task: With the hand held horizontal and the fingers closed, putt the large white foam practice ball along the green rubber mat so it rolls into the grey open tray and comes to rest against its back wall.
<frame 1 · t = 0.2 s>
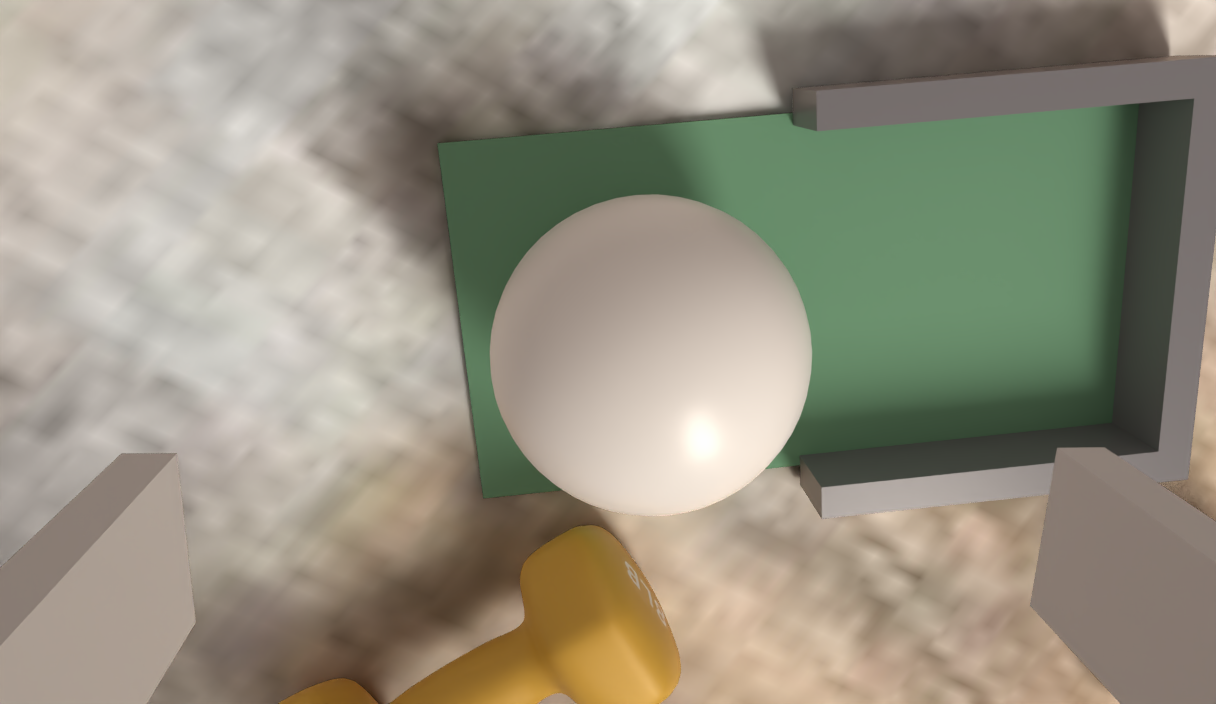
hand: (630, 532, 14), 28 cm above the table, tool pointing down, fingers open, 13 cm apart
green mat: (822, 294, 42), on the table
dumbbell: (472, 643, 47), on the table
ball: (649, 355, 36), point 6 cm above the table, touching green mat
grey open tray: (967, 282, 42), resting on green mat
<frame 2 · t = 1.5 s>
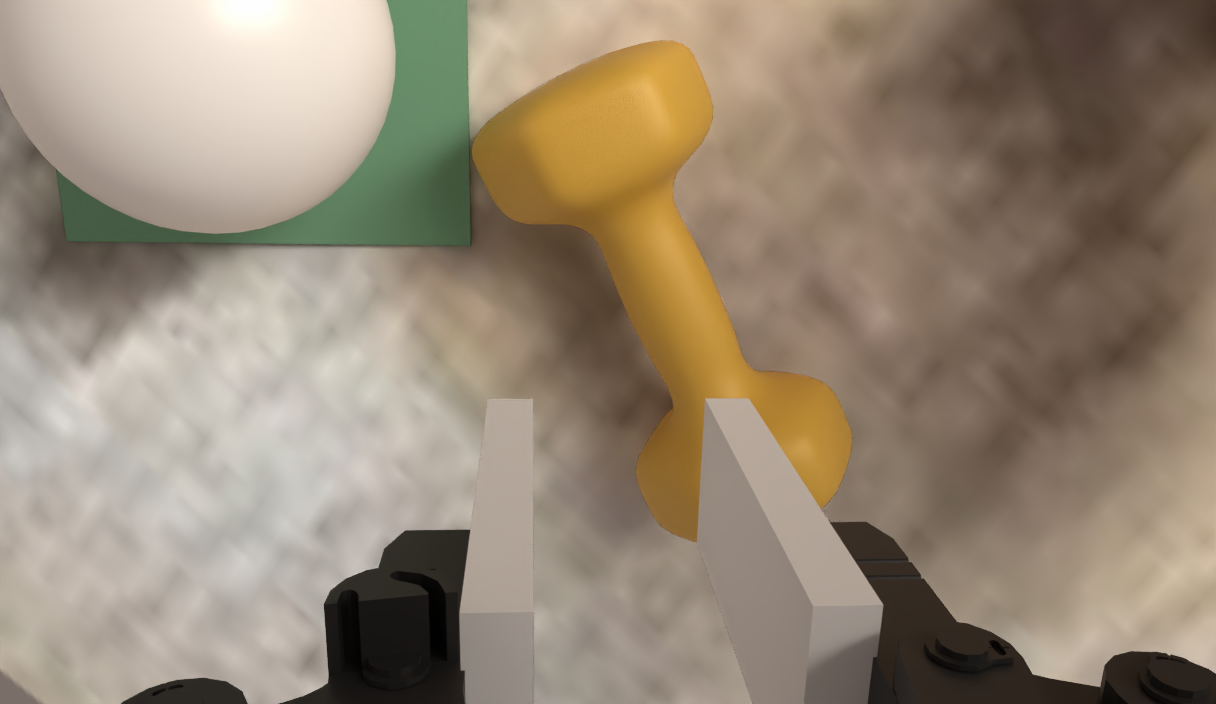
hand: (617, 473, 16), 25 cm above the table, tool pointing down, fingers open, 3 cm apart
dumbbell: (658, 279, 41), on the table
ball: (205, 46, 31), point 6 cm above the table, touching green mat
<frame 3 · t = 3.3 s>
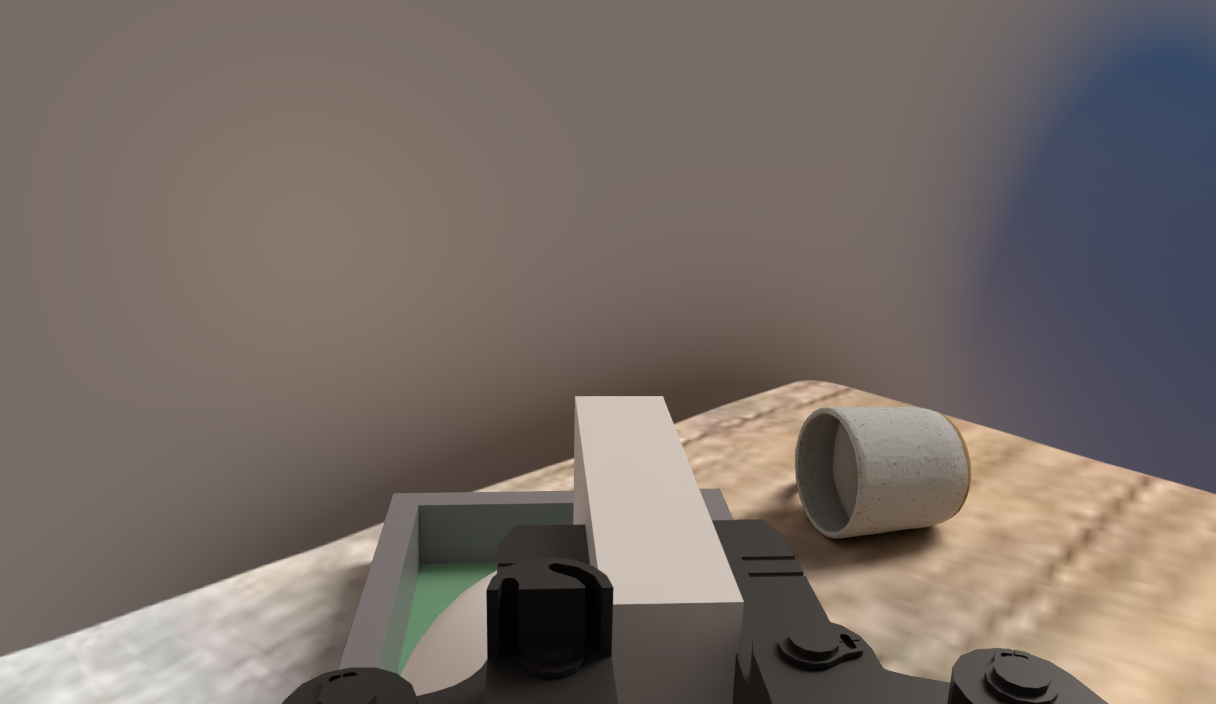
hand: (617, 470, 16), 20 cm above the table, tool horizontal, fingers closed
grey open tray: (563, 637, 45), resting on green mat
ceramic mug: (859, 518, 59), on the table
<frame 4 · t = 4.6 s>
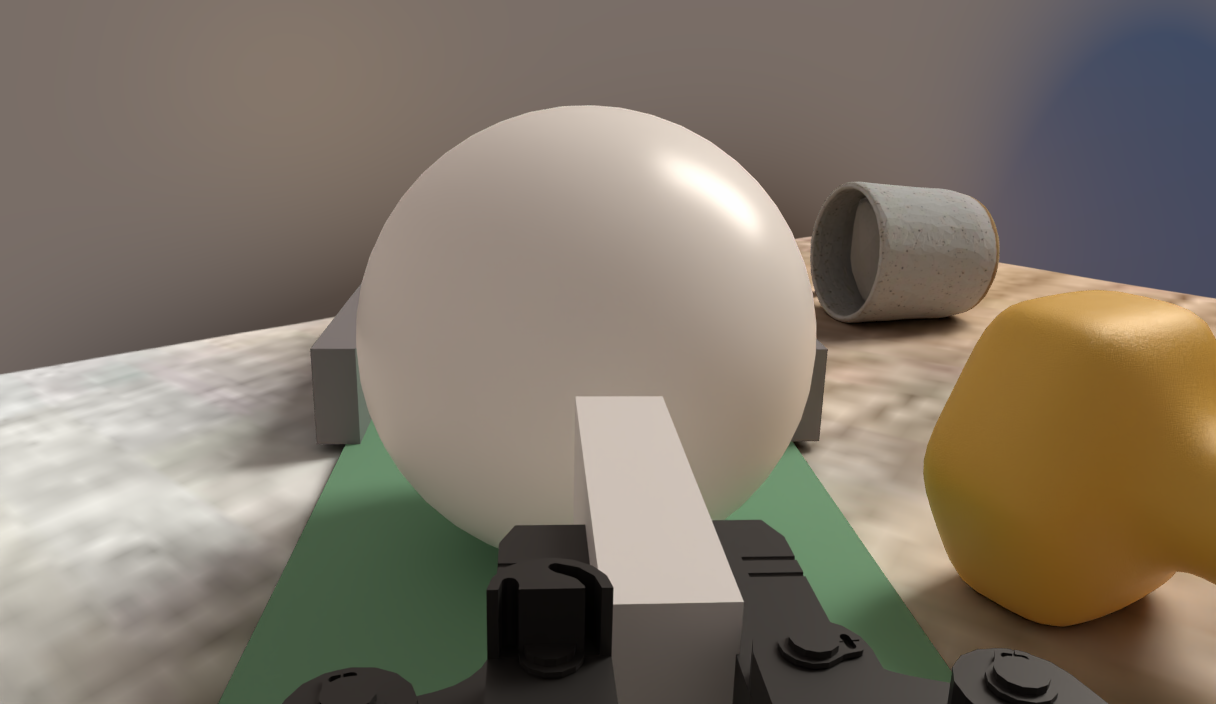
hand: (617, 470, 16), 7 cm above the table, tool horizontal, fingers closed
green mat: (571, 437, 35), on the table
ball: (587, 336, 26), point 6 cm above the table, touching green mat
grey open tray: (565, 375, 42), resting on green mat
ceramic mug: (878, 315, 56), on the table
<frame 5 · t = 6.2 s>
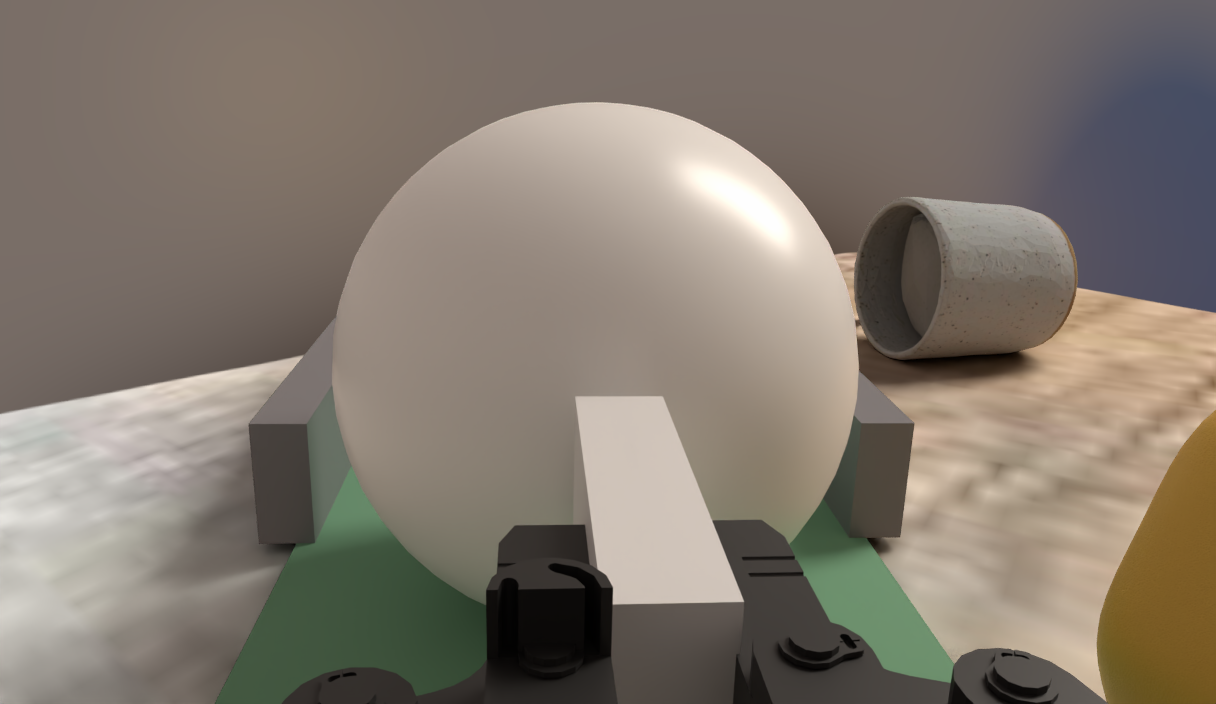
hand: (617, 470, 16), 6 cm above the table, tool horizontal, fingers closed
green mat: (585, 529, 28), on the table
ball: (596, 364, 22), point 6 cm above the table, tilted 43°, touching green mat
grey open tray: (577, 437, 34), resting on green mat
ceramic mug: (932, 349, 49), on the table
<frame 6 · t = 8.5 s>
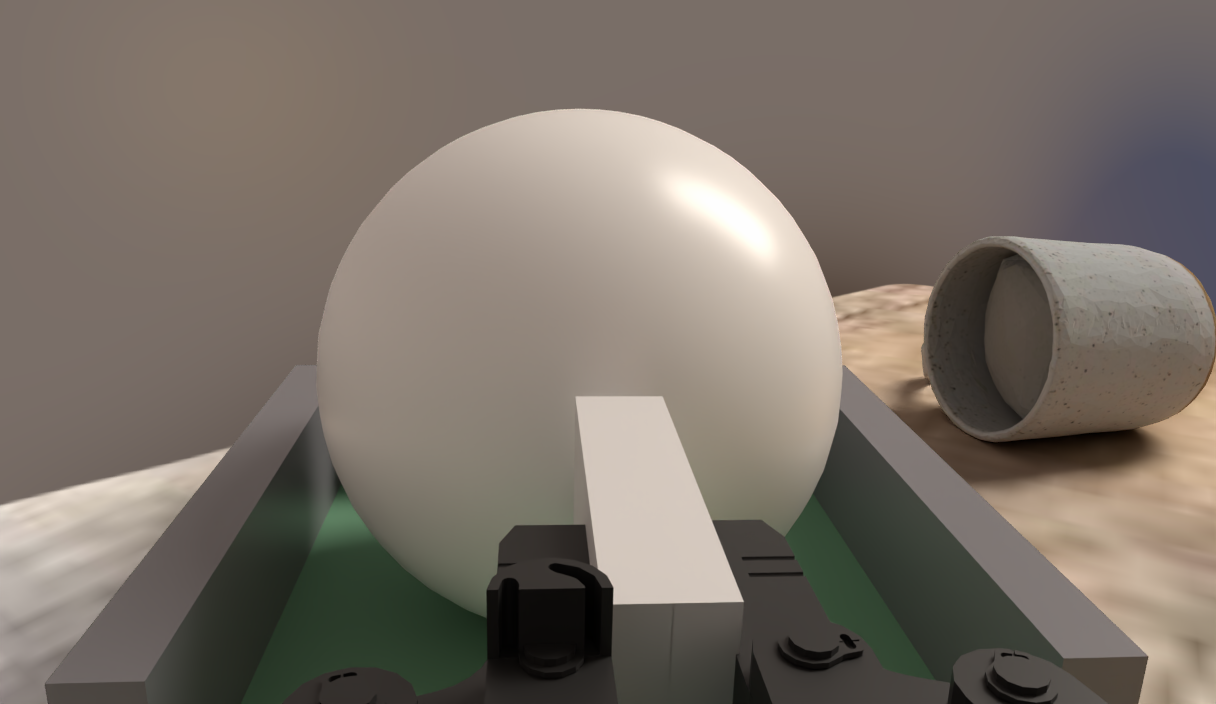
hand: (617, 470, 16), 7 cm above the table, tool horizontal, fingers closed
ball: (581, 370, 23), point 6 cm above the table, tilted 145°, touching green mat
grey open tray: (590, 602, 24), resting on green mat
ceramic mug: (1021, 422, 39), on the table
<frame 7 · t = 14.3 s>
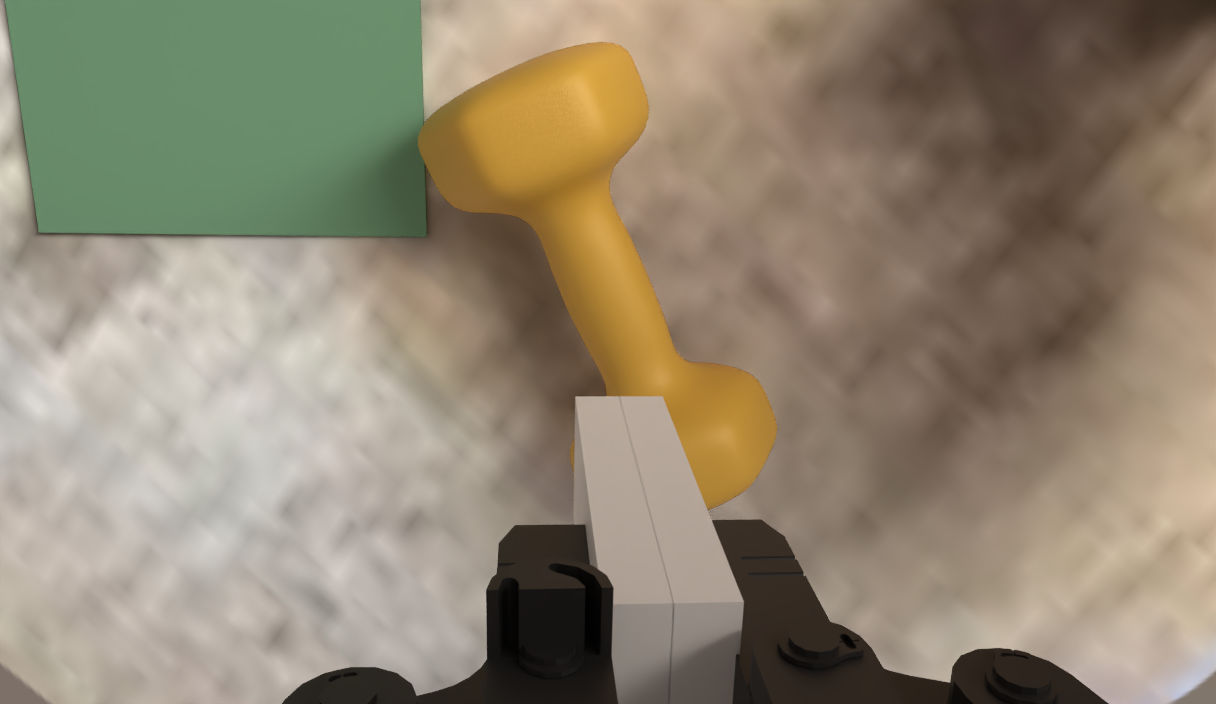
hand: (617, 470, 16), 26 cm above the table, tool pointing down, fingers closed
dumbbell: (600, 270, 43), on the table
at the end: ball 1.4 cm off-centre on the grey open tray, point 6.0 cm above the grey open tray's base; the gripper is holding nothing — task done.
